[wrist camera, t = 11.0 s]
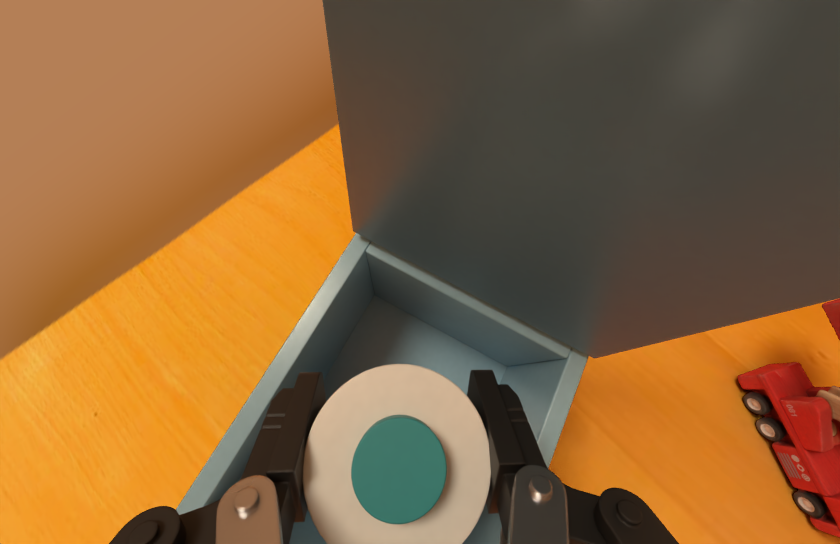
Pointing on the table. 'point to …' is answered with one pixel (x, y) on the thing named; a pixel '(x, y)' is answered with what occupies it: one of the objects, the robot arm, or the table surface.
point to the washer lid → (599, 155)
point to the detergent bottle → (397, 460)
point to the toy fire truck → (802, 431)
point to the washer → (401, 360)
